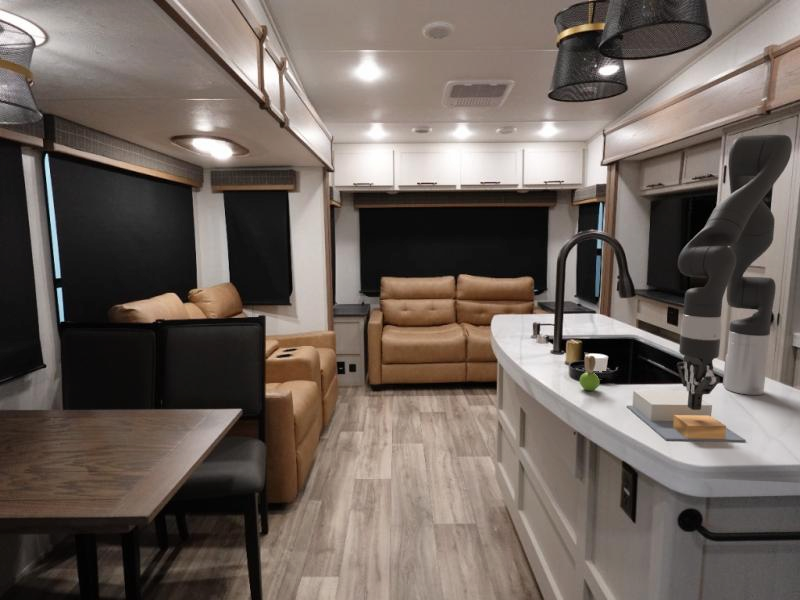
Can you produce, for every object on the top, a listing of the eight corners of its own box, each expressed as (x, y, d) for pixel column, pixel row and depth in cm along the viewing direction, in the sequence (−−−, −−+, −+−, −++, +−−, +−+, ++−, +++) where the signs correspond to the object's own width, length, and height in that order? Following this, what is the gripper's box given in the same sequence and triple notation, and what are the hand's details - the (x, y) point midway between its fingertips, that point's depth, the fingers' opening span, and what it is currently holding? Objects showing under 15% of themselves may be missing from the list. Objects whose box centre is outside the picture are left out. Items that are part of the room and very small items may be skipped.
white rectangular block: (632, 407, 120) (633, 390, 119) (687, 407, 119) (688, 391, 118) (650, 422, 110) (651, 404, 109) (710, 423, 109) (712, 405, 108)
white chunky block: (580, 373, 150) (581, 353, 149) (600, 373, 150) (601, 352, 149) (590, 380, 143) (591, 358, 142) (611, 379, 143) (612, 357, 142)
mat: (626, 406, 120) (626, 405, 120) (693, 407, 119) (693, 406, 119) (665, 440, 100) (665, 438, 100) (745, 441, 99) (745, 440, 99)
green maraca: (574, 391, 133) (576, 351, 131) (583, 385, 137) (585, 347, 136) (593, 395, 129) (595, 354, 127) (601, 389, 134) (603, 350, 132)
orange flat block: (688, 425, 99) (687, 438, 100) (726, 426, 99) (725, 439, 99) (673, 415, 105) (672, 427, 106) (709, 415, 105) (708, 427, 105)
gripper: (737, 341, 95) (730, 420, 97) (700, 329, 108) (694, 398, 110) (700, 341, 95) (693, 419, 97) (667, 329, 108) (662, 398, 110)
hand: (694, 408), depth 104 cm, fingers closed
